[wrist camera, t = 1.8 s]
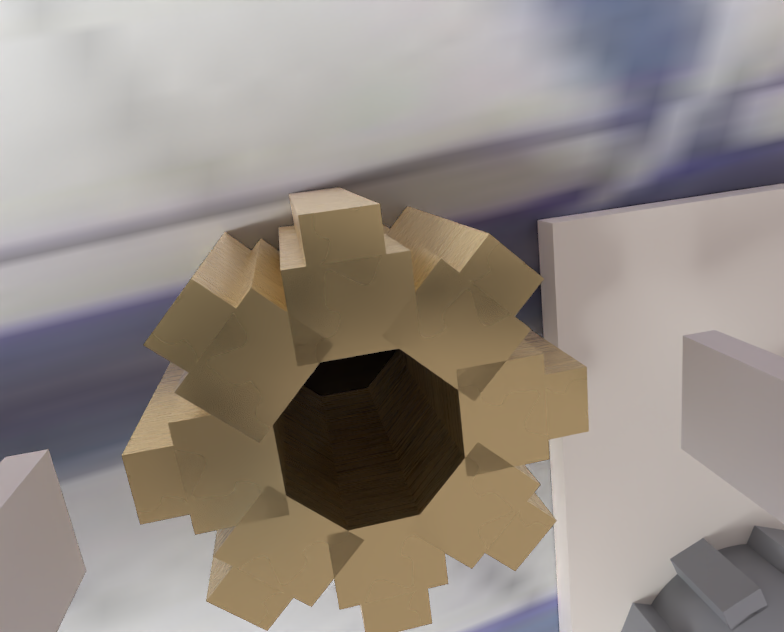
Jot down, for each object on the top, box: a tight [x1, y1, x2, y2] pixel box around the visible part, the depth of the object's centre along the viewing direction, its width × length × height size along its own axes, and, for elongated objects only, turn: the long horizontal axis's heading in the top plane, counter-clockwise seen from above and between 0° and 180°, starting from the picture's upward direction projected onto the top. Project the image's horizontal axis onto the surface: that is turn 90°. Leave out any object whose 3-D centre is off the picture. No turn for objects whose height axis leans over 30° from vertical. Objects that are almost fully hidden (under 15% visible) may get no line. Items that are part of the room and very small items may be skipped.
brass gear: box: [122, 187, 589, 632], centre depth 17 cm, size 10×10×8 cm
